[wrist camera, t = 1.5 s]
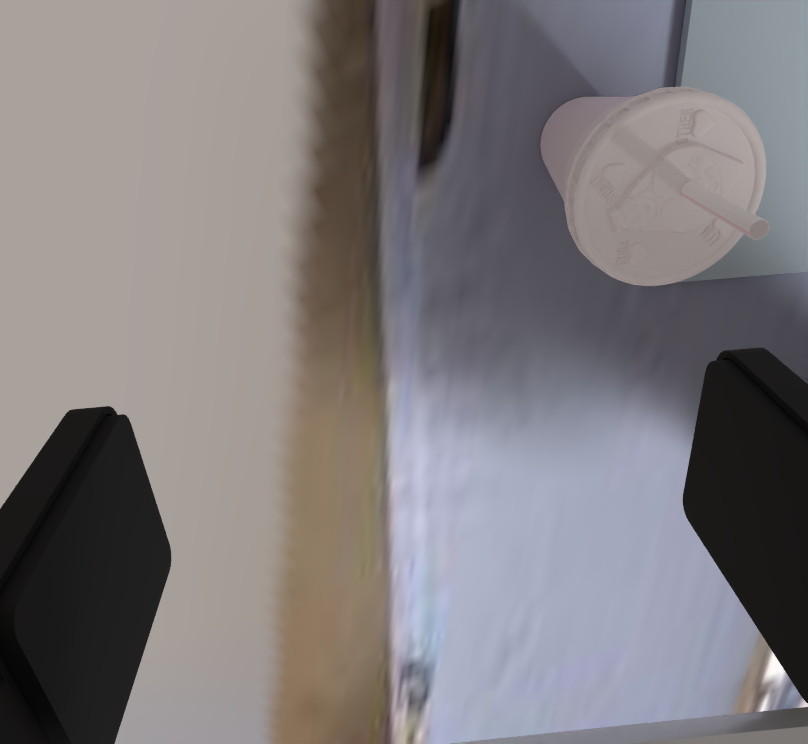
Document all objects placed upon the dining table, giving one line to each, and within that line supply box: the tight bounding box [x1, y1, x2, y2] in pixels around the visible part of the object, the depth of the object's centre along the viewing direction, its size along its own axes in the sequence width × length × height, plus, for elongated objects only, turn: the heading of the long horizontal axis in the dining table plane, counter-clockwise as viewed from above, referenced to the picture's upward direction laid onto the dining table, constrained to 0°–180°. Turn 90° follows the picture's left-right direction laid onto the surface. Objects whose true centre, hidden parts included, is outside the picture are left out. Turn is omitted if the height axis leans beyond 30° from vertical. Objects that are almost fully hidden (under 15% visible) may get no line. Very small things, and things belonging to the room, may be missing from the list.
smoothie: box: [540, 86, 769, 286], centre depth 24 cm, size 6×6×14 cm
